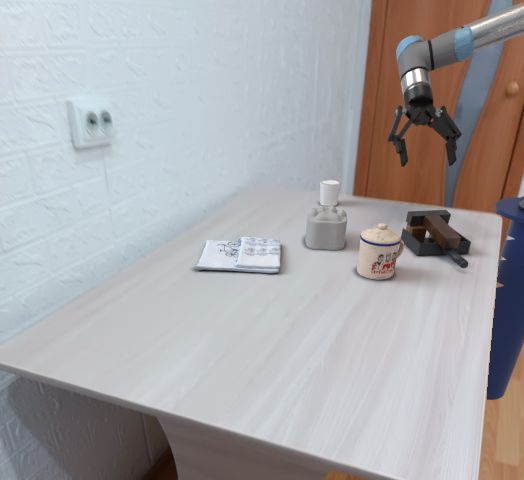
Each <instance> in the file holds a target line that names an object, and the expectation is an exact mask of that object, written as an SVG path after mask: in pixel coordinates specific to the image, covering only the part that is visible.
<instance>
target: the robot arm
mask: <svg viewBox="0 0 524 480" xmlns="http://www.w3.org/2000/svg"><path fill="white" fill-rule="evenodd" d="M522 35H524V1H523V2H520V3H517V4H515V5H512V6H510V7H507V8H505V9H503V10H499V11H497V12H495V13H492V14H490V15H487V16H484V17H482V18H480V19H477V20H474V21H472V22H470V23H467V24H464V25H462V26H460V27H457V28H454V29H452V30H449V31H444V32H442V33H439V34H438V35H437V36H436V37H434V38H432V39H428V40H424V39H423V38H422V37H421V36H420V35H418V34H417V35H414V34H413V35H409V36H406V37H404V38H403V39H402V40H401V41H400V42H399V43H398V44H397V47H396V50H395V51H396V53H395V54H396V63H397V69H398V74H399V75H398V76H399V80H400V81H399V82H400V87H401V93H402V97H403V98H402V100H403V106H404V107H403V106H402V105H398V106H397V108H396V110H395V111H394V119H393V123H392V125H391V127H390V130H389V133H388V136H387V138H386V141H387V142H388V143H391V142H392V146H394V147H395V153H396V154H397V155H399V160H400V166H401V168H403V167H404V168H405V166H406V165H407V163H408V162H409V156H408V150H407V145H406V144H407V143H406V139H405V138H403V137H404V136H405V134H406V133H407V131H408V130H409V129H410V127H411V126H412V125H414V126H417V127H419V126H423V127H424V126H425V127H426V126H427V127H429V128H430V129H432V130H434V132H436V133H437V134H438V135H439V136H440V137H441V138H442V139H444V140H445V141H446V142H445V144H444V145H445V151H446V156H447V162H448V167H449V166H450V167H451V166H453V165H454V164H455V163H456V162H457V160H458V159H457V154H456V151H458V146H457V145H458V144H457V141H458V140H459V139H460V138H461V137H462V136H463V133H462V132H461V130H460V129H459V127H458V126H457V124H456V123H455V122H454V120H453V118H451V116H450V115H449V113H448V111H447V107H446V106H445V105H441V106H440V107H438V108H437V107H435V105H434V95H433V89H432V83H431V77H430V72H432V71H436V70H439V69H441V68H444V67H448V66H450V65H454V64H457V63H462V62H463V61H466V60H469V59H470V58H472V57H473V56H474V53H476V52H478V51H481V50H484V49H487V48H489V47H491V46H495V45H497V44H500V43H503V42H505V41H508V40H511V39H513V38H517V37H519V36H522ZM403 116H405V117H406V118H407V119H408V120H407V122H406V123H405V124H404V125H403V127H402V129H401V130H400V131H399V133H398V134H397V130H398V128H399V125H400V122H401V119H402V118H403ZM520 197H521V200H520V203H519V209H521V210H522V211H524V195H523V196H520Z"/></svg>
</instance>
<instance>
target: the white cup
mask: <svg viewBox="0 0 524 480" xmlns="http://www.w3.org/2000/svg"><path fill="white" fill-rule="evenodd" d="M341 186H342V182H341V181H340V180H337V179H336V180H335V179H322V180H320V181H319V204H320V206H324V207H330V206H334V207H336V206H337V205H338V202H339V197H340V191H341Z"/></svg>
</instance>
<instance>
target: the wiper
mask: <svg viewBox="0 0 524 480" xmlns="http://www.w3.org/2000/svg"><path fill="white" fill-rule="evenodd" d="M451 216H452V213H450V212H449V211H448V210H447V209H433V210H428V209H427V210H408V211H407V214H406V217H405V222H406V224H409V226H418V225H422V226H423V227H424V228H425V229H426V230H427V231H426V232H427V233H428V235H429V234H430V235H431V236H432V237H433V238H434V239H435V240H436V241H437V243H438V244H439V245H440V246H441V247H442V248H443V249H448V248H458V246H459V243H460V240H461V237H460V236H459V235H458V234H457V233H456V232H455V231H456V230H455V229H454V228H453V227H452V226H451V225H450V224H449V223H450V220H451ZM451 227H452V228H451ZM453 229H454V230H455V231H454V230H453Z"/></svg>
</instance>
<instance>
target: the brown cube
mask: <svg viewBox="0 0 524 480" xmlns="http://www.w3.org/2000/svg"><path fill="white" fill-rule="evenodd" d="M405 230H406V231H408V232H409V233H410V234H411V235H412V236H413V237H414V238H416V239H417V240H418V241H419V242H420V243H421V242H424V240H425V238H426V235H427V232H428V231H427V230H426V229H425V228H424V227H423V226H422V225H418V226H409V224H408V223H406V227H405Z"/></svg>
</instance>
